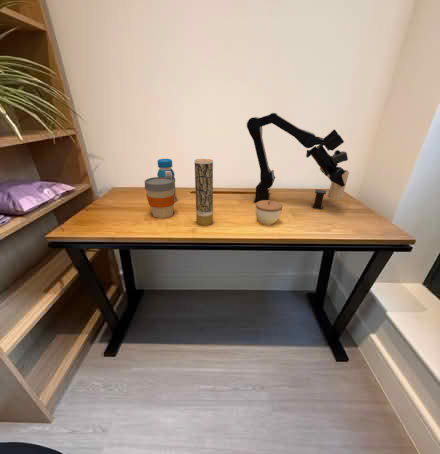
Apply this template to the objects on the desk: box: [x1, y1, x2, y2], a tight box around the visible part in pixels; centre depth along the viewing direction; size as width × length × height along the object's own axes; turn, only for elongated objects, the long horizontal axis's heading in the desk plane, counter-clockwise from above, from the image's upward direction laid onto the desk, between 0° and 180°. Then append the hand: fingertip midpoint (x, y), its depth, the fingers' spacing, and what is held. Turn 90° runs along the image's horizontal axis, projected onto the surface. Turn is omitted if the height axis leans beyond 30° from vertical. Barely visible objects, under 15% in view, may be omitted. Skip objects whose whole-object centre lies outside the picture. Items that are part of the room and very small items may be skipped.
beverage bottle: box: [156, 158, 177, 203], centre depth 123 cm, size 8×8×20 cm
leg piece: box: [312, 188, 327, 210], centre depth 121 cm, size 5×5×8 cm
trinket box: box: [255, 199, 283, 226], centre depth 104 cm, size 11×11×9 cm
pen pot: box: [327, 169, 350, 201], centre depth 116 cm, size 6×6×12 cm
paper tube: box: [194, 158, 214, 226], centre depth 99 cm, size 7×7×25 cm
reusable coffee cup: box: [144, 176, 176, 219], centre depth 109 cm, size 13×13×15 cm
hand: (341, 183), depth 116 cm, fingers closed on pen pot, 6 cm apart
